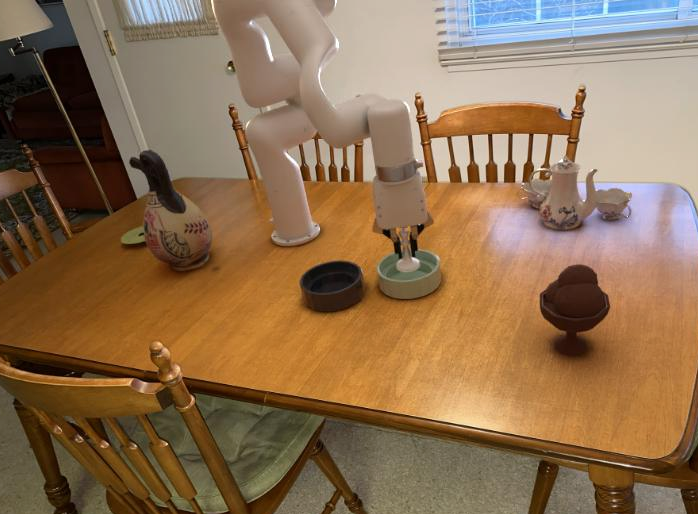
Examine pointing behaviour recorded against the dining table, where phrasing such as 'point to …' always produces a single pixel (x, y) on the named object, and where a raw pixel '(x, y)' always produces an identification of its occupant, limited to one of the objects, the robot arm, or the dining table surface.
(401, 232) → the chess piece
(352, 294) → the dark bowl
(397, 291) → the green bowl
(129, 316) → the dining table surface
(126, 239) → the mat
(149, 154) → the ceramic jug
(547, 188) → the chinaware
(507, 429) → the dining table surface
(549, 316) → the ice cream bowl
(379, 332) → the dining table surface
